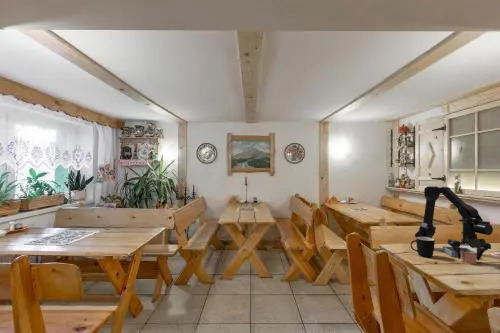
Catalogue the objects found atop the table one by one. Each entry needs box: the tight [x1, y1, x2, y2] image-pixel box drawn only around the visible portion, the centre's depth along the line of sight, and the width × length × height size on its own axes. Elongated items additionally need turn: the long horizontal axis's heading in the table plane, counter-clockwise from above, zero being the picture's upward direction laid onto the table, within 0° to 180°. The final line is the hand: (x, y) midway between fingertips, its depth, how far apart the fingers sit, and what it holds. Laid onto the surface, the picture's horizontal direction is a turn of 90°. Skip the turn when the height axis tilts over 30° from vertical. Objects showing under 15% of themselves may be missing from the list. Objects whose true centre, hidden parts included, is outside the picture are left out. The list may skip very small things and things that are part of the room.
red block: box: [460, 251, 477, 265], centre depth 162 cm, size 5×5×5 cm
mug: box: [410, 237, 436, 259], centre depth 172 cm, size 12×9×10 cm
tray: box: [442, 246, 477, 260], centre depth 175 cm, size 13×12×3 cm
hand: (468, 259), depth 162 cm, fingers open, 9 cm apart
